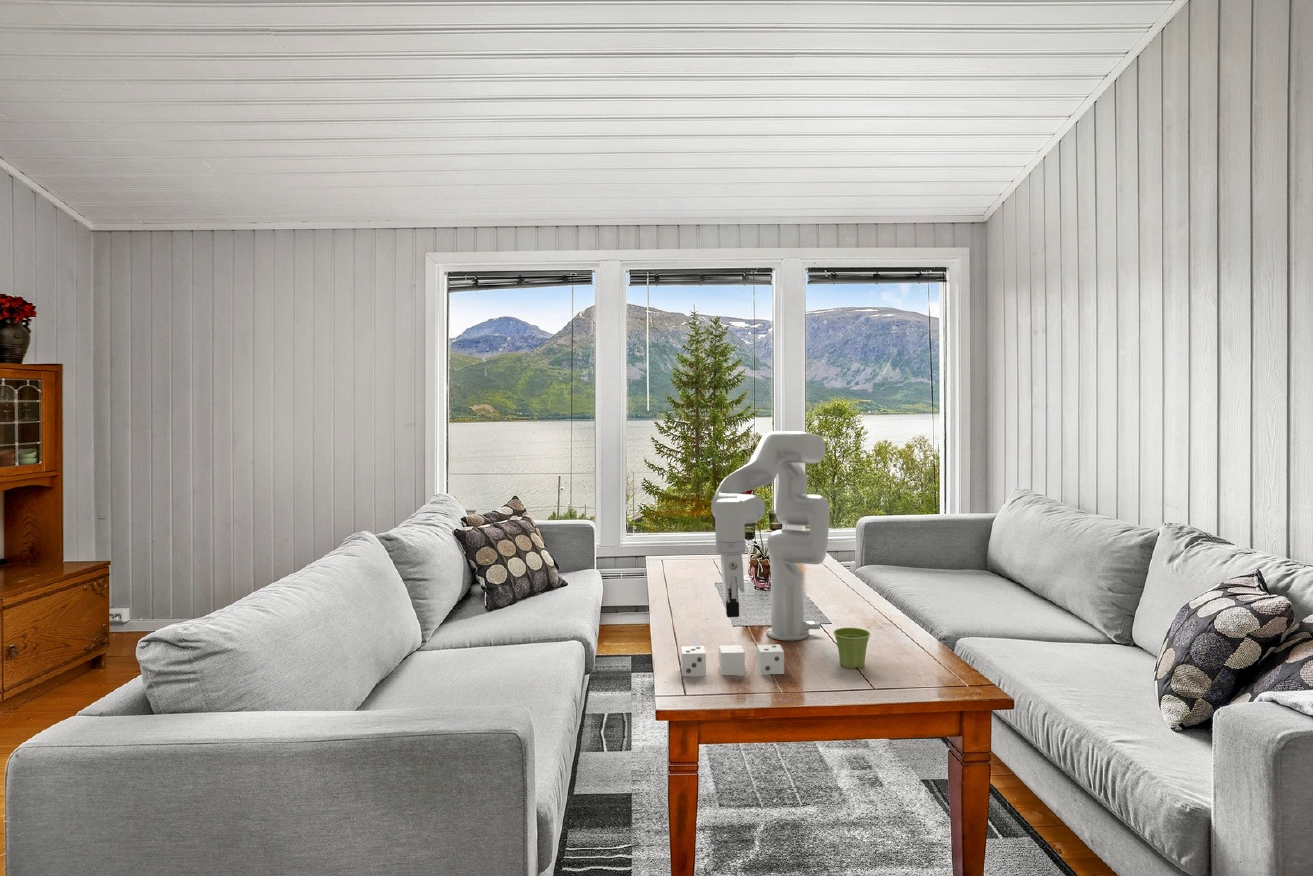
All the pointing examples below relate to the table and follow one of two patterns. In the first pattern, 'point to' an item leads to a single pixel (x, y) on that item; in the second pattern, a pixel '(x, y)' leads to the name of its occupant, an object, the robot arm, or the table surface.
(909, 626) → the table surface
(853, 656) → the plant pot
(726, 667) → the plain block
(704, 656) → the three dot block
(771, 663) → the two dot block
